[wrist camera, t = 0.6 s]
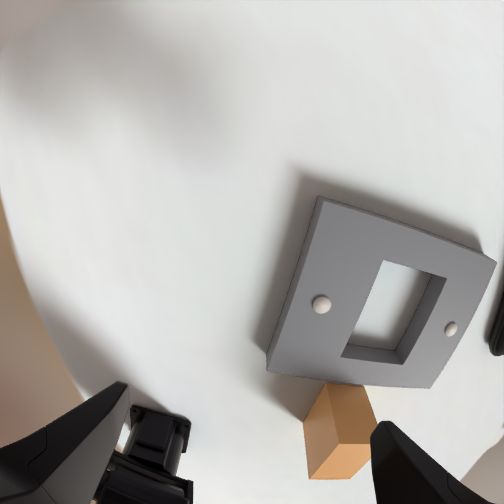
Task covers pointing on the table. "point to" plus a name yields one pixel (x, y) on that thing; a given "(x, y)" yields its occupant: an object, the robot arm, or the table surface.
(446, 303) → the socket board
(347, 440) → the plug
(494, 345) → the carrying case or bag
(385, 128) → the table surface
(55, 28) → the table surface
